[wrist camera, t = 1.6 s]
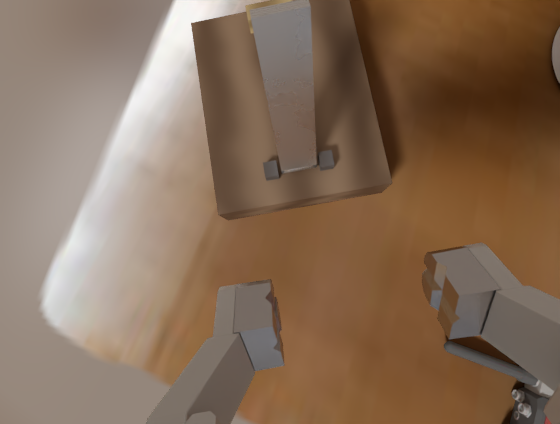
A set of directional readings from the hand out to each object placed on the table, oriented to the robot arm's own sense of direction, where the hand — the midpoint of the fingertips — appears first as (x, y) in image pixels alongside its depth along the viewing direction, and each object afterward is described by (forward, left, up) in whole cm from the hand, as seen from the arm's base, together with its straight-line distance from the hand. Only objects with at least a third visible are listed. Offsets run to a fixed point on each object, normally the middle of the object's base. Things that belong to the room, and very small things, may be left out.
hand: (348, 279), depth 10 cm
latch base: (0, -16, -23) cm, 29 cm away
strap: (0, -12, -13) cm, 17 cm away
